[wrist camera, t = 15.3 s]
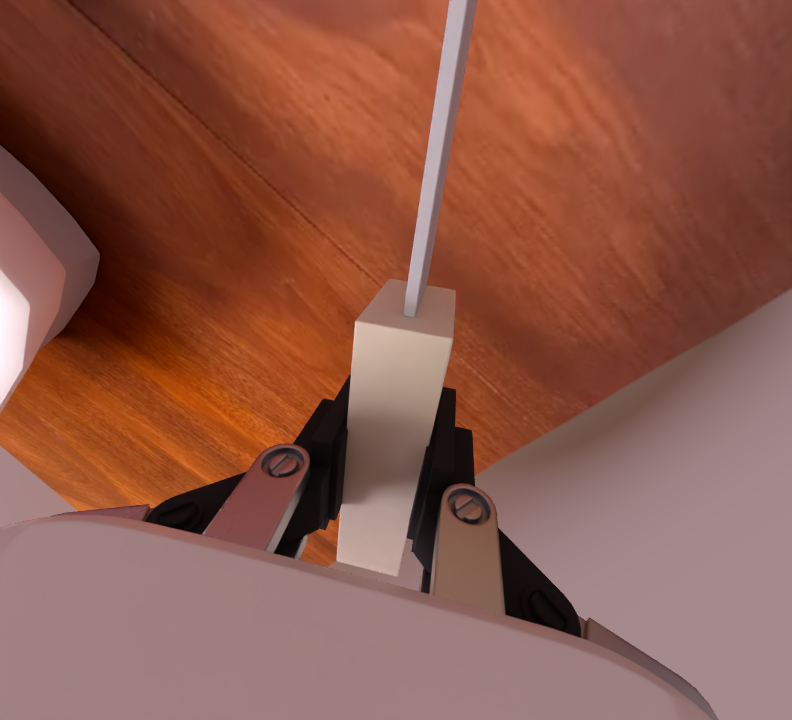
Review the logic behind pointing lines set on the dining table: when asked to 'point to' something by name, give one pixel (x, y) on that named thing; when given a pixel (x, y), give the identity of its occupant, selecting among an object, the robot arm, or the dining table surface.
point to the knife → (402, 354)
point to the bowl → (36, 270)
